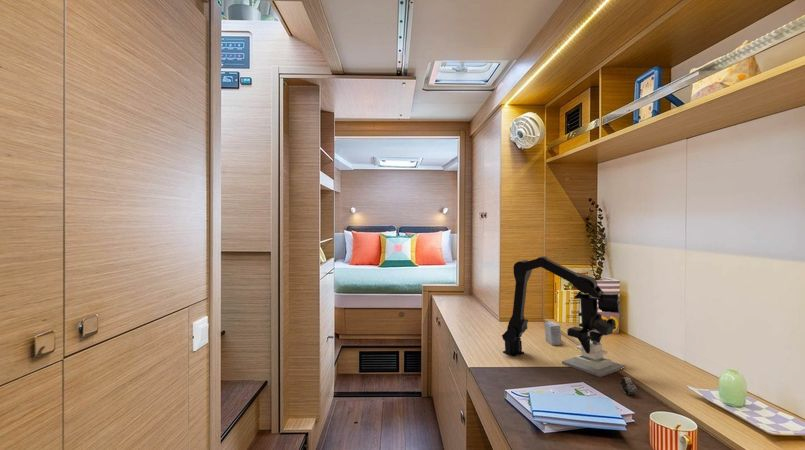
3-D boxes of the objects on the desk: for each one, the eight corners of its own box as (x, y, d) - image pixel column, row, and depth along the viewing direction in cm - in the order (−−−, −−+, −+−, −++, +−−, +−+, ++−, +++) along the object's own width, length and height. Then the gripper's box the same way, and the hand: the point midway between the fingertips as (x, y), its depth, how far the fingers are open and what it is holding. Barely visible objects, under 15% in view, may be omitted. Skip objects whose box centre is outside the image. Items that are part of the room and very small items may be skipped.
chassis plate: (600, 377, 133) (599, 368, 133) (562, 363, 147) (561, 355, 147) (625, 368, 139) (624, 360, 140) (586, 356, 154) (586, 348, 154)
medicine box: (561, 345, 169) (560, 325, 169) (551, 345, 169) (550, 326, 170) (555, 339, 177) (554, 321, 177) (545, 340, 177) (544, 321, 177)
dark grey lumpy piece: (623, 398, 120) (630, 390, 117) (618, 382, 124) (624, 374, 120) (633, 398, 120) (640, 391, 116) (627, 382, 124) (634, 375, 120)
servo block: (600, 361, 138) (599, 344, 138) (576, 353, 147) (576, 338, 147) (607, 358, 140) (606, 342, 140) (583, 351, 149) (583, 336, 149)
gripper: (591, 318, 132) (594, 363, 132) (625, 310, 141) (628, 352, 141) (565, 313, 142) (567, 354, 142) (598, 305, 151) (600, 345, 151)
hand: (591, 352), depth 144 cm, fingers closed on servo block, 4 cm apart
